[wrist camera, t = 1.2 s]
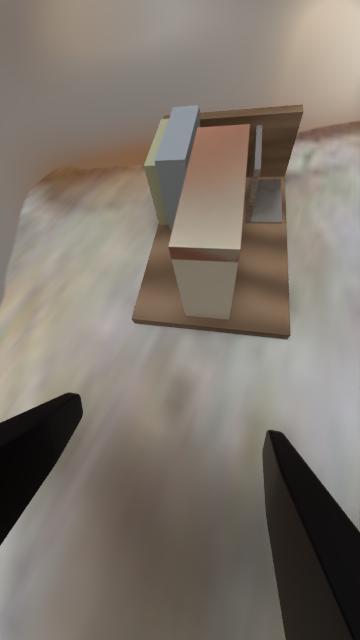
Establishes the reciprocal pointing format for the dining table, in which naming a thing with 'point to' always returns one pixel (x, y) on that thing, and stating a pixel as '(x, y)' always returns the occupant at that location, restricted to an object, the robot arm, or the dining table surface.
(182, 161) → the small books
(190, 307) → the boxed book
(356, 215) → the dining table surface
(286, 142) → the shelf
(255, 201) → the bookend
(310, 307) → the dining table surface
